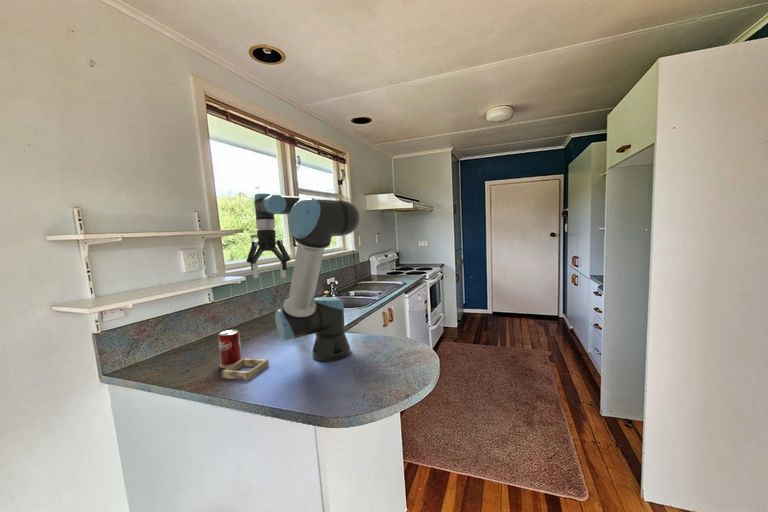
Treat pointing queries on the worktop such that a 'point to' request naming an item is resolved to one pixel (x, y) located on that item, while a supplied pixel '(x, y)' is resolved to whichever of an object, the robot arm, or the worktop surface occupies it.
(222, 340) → the soda can
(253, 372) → the frame
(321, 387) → the worktop surface
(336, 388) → the worktop surface
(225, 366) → the coaster
